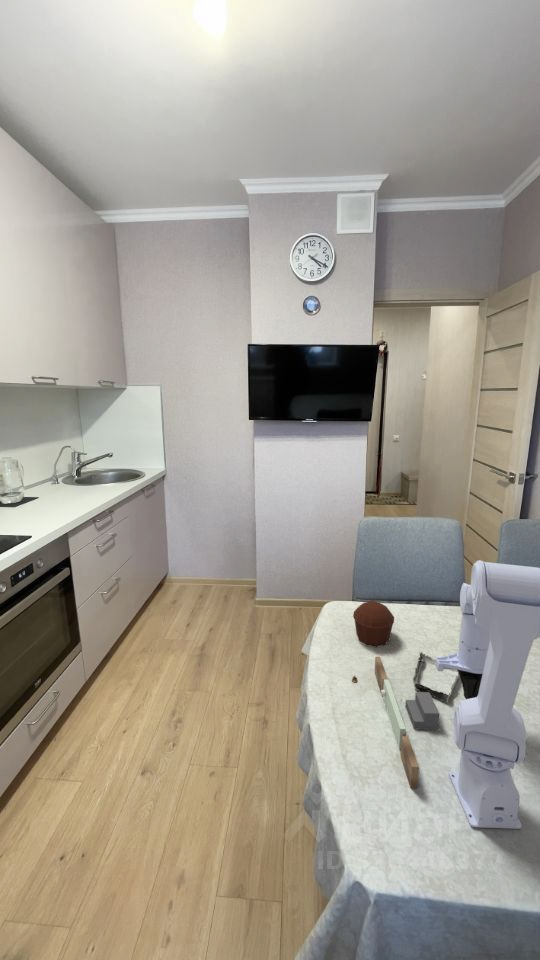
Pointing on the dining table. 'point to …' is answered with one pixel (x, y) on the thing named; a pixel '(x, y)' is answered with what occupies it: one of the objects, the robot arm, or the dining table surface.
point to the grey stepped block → (423, 711)
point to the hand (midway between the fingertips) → (469, 699)
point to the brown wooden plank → (406, 748)
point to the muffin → (373, 623)
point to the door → (393, 712)
